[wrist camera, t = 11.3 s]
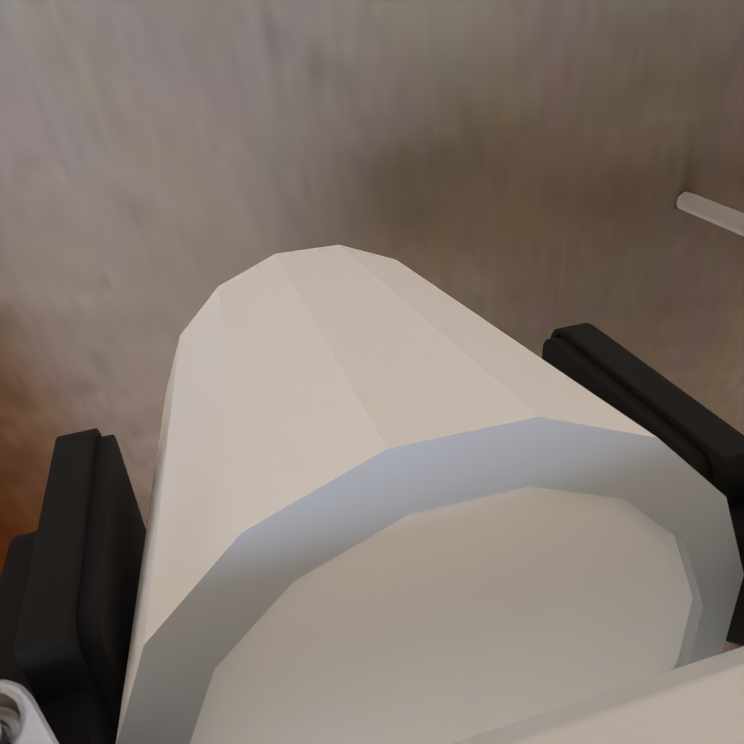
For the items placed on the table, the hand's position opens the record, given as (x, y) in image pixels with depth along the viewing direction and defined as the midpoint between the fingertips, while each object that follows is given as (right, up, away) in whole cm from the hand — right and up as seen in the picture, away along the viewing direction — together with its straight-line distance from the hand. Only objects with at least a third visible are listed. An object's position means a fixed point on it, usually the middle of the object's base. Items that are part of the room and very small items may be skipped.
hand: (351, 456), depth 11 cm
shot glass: (-1, +1, +2) cm, 3 cm away
